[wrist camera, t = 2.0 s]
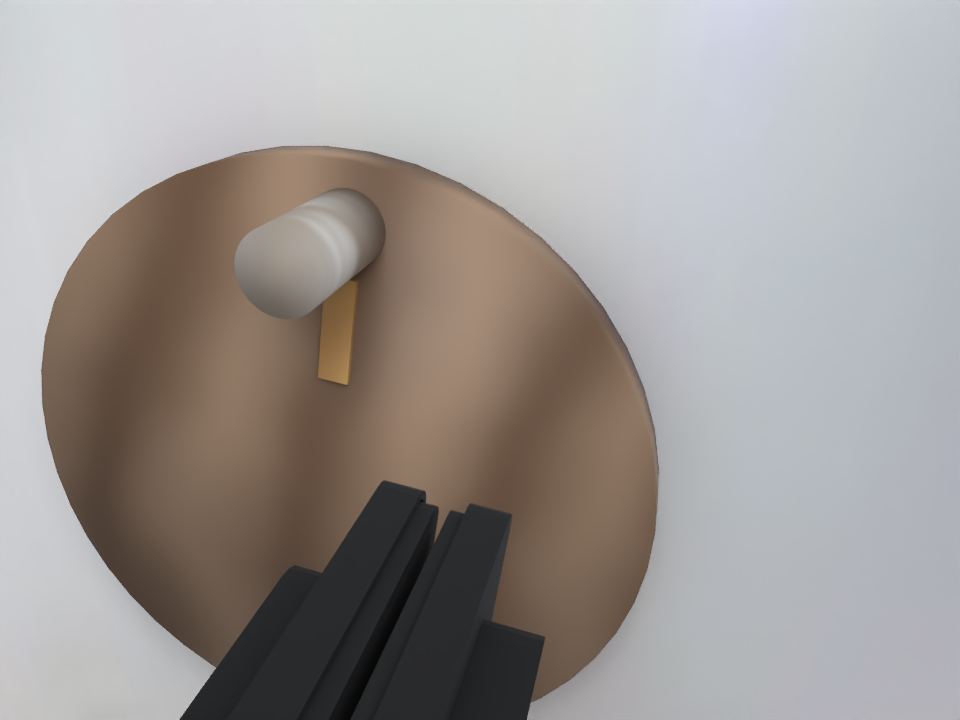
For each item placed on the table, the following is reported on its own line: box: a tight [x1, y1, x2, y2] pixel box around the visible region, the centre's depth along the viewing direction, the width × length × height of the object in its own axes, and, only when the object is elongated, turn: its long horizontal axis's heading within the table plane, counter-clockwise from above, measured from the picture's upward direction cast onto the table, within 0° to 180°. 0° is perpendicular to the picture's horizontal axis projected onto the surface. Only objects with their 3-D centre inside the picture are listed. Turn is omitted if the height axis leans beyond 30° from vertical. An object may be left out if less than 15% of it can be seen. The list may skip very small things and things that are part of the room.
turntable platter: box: [41, 146, 659, 703], centre depth 27 cm, size 22×22×6 cm
